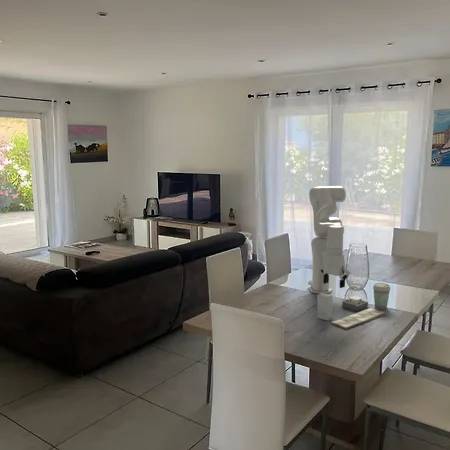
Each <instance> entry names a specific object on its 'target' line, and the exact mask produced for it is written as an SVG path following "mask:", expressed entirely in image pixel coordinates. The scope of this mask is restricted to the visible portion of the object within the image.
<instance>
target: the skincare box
mask: <svg viewBox="0 0 450 450" xmlns="http://www.w3.org/2000/svg"><path fill="white" fill-rule="evenodd" d="M316 297H317V299H316V300H317V318H318V319H321V320H324V321H331V320H332V319H333V295H332V294H330V293H327V294H325V293H320V294H317V296H316Z"/></svg>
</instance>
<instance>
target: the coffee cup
mask: <svg viewBox="0 0 450 450" xmlns="http://www.w3.org/2000/svg"><path fill="white" fill-rule="evenodd" d="M372 289H373V299H374V302H373V303H374V309H376V310H386V309H387V308H388V302H389V299H390V297H389V296H390V291H391V287H390V285H389V283H385V282H377V283H374V284H373V286H372Z"/></svg>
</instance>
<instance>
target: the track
mask: <svg viewBox="0 0 450 450" xmlns="http://www.w3.org/2000/svg"><path fill="white" fill-rule="evenodd" d="M385 315H386V312H384V311H381V310H379V309H376V308H371V307H368V308H365V309H362V310H360V311H357V312H355V313H353V314H351V315H348V316H345V317H341V318H339V319H337V320H333V321H330V325H332V326H335V327H338V328H341V329H343V330H345V331H347V330H349V329H353V328H355V327H357V326H360V325H362V324H365V323H367V322H370V321H373V320H375V319H378V318H381V317H383V316H385Z"/></svg>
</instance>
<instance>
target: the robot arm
mask: <svg viewBox="0 0 450 450" xmlns="http://www.w3.org/2000/svg"><path fill="white" fill-rule="evenodd" d="M308 193H309V194H308V196H309V201H310V202H309V203H310V204H311V207H312V211H313V212H312V213H313V215H312V217H313V221H312V222H313V223H312V224H313V231H314V235H315V236H316V237H314V238H312V239H311V241H310V242H311V243H310V245H311V246H310V247H311V252H312V253H311V254H312V271H311V272H312V273H311V274H312V277H311V278H312V279H311V280H309V281H308V282H307V285H310V287H309V291H310V292H311V293H314V294H317V295H318V294H320V293H325V294H330V293H332V292H333V291H332V287H330V275H331V276H332V275H333V276H336V277H337V276H338V278H339V289H343V288H345V287H346V280H347V279H348V278H349V276H350V273H351V271H350V270H348V269H347V268H346V262H345V255H344V253H343V252H344V251H343V249H344V233H345V226H344V225H343V223H342V219H341V218H339V217H331V216H333V215H334V214H335V213H336V212H337V210H338V208H337V203H344V202H345V200H346V196H347V194H346V190H345V188H344V187H343V186H341V185H335V186H334V185H329V186H328V185H326V186H315V187H311V188H310V190H309V192H308Z"/></svg>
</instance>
